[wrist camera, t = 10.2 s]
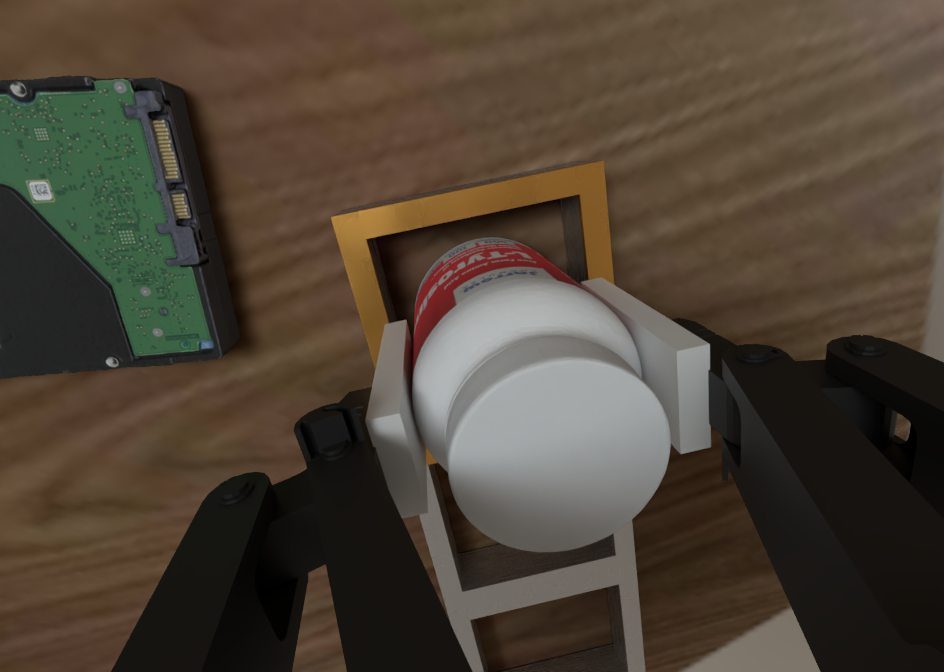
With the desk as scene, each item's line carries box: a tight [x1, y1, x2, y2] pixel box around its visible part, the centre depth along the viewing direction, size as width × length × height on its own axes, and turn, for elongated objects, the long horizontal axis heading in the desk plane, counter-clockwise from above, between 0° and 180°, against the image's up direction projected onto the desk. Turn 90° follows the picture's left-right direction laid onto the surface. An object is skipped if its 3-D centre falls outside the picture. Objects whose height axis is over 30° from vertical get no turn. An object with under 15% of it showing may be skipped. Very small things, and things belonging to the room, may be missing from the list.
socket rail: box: [331, 160, 645, 672], centre depth 24 cm, size 10×30×3 cm, turn 11°
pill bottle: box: [412, 237, 671, 552], centre depth 15 cm, size 6×6×11 cm
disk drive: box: [0, 76, 240, 378], centre depth 18 cm, size 10×3×15 cm
